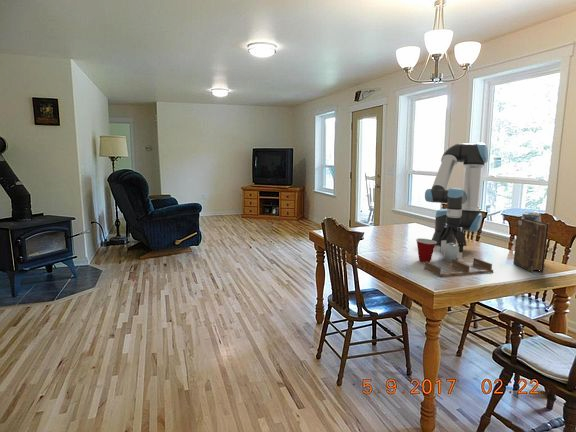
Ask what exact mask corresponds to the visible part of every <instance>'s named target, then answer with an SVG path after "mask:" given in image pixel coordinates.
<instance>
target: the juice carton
mask: <svg viewBox="0 0 576 432" xmlns="http://www.w3.org/2000/svg"><path fill="white" fill-rule="evenodd" d="M520 219H530V220H534V221H539V222H542V213H540V212H539V211H536V210H535V211H533V212H529V211H528V212H524V213H522V214H521V218H520Z"/></svg>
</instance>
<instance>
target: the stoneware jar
mask: <svg viewBox="0 0 576 432" xmlns="http://www.w3.org/2000/svg"><path fill="white" fill-rule="evenodd" d="M457 246H458V243H456V244H454V243H446V244H445V249H444V252H443V261H444V262H448V263H452V259H454V260H457V261H459V260H458V259H459V258H457Z"/></svg>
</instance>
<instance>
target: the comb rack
mask: <svg viewBox="0 0 576 432" xmlns="http://www.w3.org/2000/svg"><path fill="white" fill-rule="evenodd" d="M472 266H474V267H476V266H477V267H476V268H479V269H478V270H470V265H468V264H466V263H464V262H462V261H459V260H458V261H457V260H454V259H452V262H451V267H452V268H454V269H455V270H458V271H456V272H452V271H451V272H445V273H441V272H442V268H441V267H440V266H437V265H436V264H434V263H431V262H427V261H426V262H425V263H424V270H426V271H428V272H430V273H431V274H433V275H436V276H437V277H439V278H443V277H444V278H445V276H447V277H457V276H456V275H458V276H466V275H465V274H469V275H478V274H477V273H481V274H488V272H492V273H494V269H493V268H492V267H493V264H492V263H491V262H488V261H485V260H482V259H480V258H478V257H473V261H472ZM481 268H482V269H481ZM484 269H485V270H484Z"/></svg>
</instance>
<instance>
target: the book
mask: <svg viewBox="0 0 576 432" xmlns="http://www.w3.org/2000/svg"><path fill="white" fill-rule="evenodd" d="M549 228H550V223H549V222H544V221H543V222H542V221H541V222H539V221H534V220H530V219H521V218H517V226H516V234H515V235H516V237H515V246H514V254H513V264H514V265H515V266H519V267H521V268H523V269H525V270H526V271H528V272H530V271H531V272H530V273H533V272H534V271H535V270H536V271H538V270H540V271H542V272H541V273H544V272H545V262H546V251H547V250H546V249H547V240H548V236H549V234H548V233H549V230H550V229H549ZM540 271H539V272H540Z"/></svg>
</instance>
